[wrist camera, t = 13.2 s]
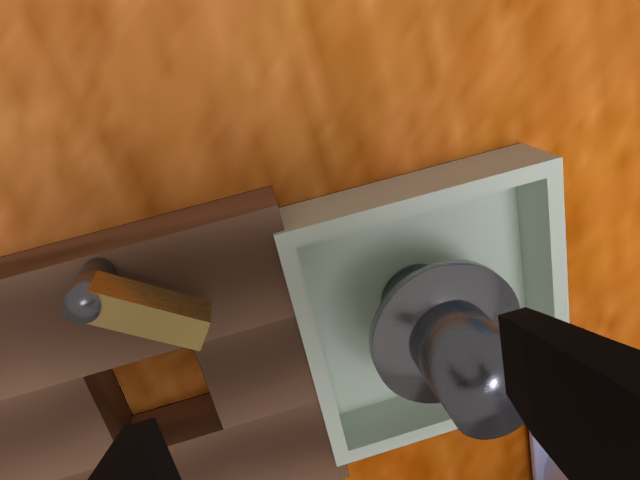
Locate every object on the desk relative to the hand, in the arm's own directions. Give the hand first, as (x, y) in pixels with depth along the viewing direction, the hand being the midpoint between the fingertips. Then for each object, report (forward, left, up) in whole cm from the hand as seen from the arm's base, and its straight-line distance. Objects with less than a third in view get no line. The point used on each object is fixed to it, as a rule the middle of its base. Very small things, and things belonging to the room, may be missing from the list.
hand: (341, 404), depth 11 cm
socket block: (-4, +6, -10) cm, 12 cm away
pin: (-4, -5, -10) cm, 11 cm away
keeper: (+1, +5, -8) cm, 9 cm away
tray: (-4, -5, -10) cm, 12 cm away
